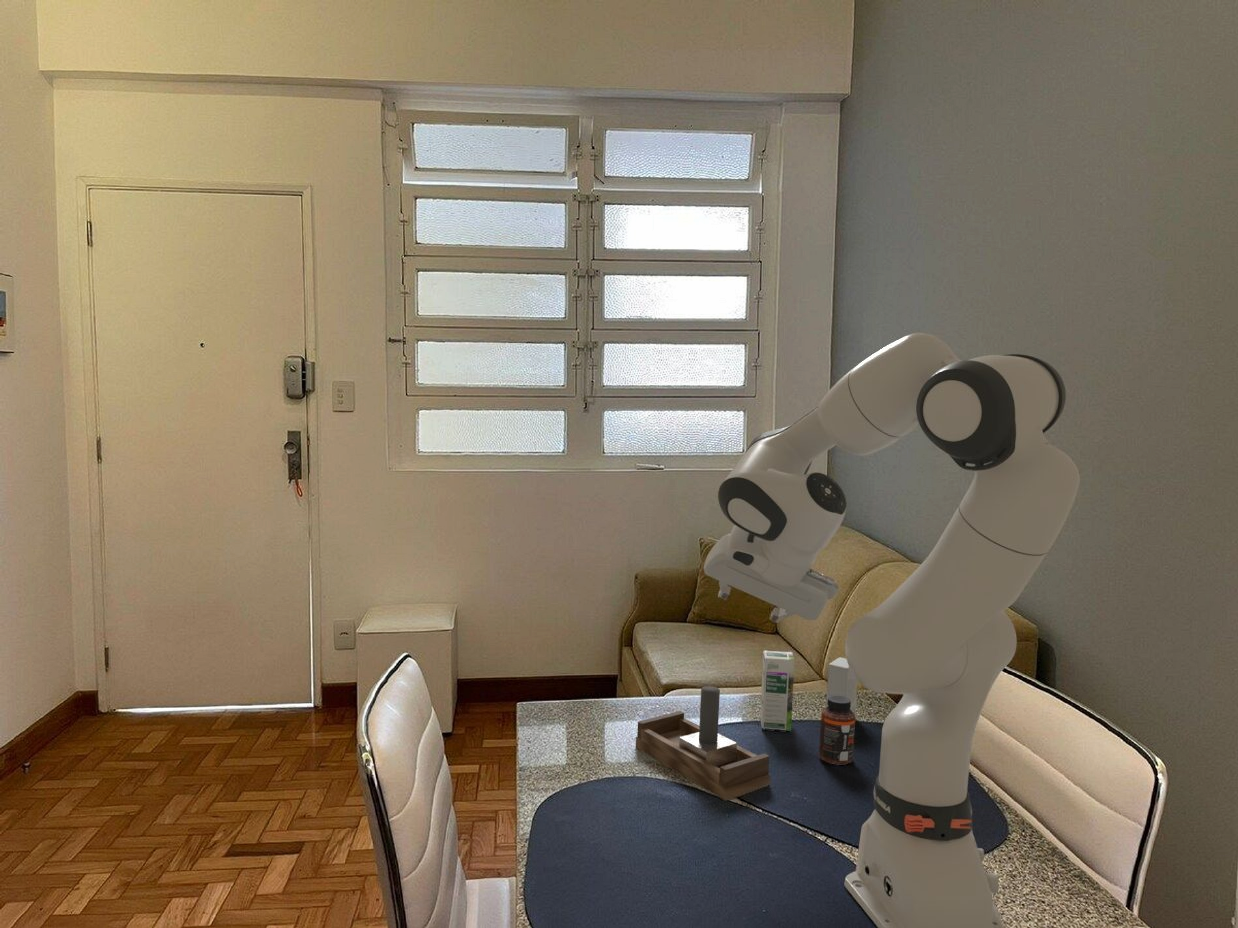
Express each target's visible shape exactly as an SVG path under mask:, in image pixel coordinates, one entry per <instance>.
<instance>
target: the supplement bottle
mask: <svg viewBox="0 0 1238 928" xmlns="http://www.w3.org/2000/svg"><path fill="white" fill-rule="evenodd" d="M827 704H828V707H823V709H821V716H820V726H819V727H820V729H819V730H820V731H819V747H818V757H819V756H820V757H819V759H820V760H821V759H822V761H823V760H824V761H826V762H829V763H835V764H841V765H843V764H847V763H850V764H851V763H852V761H853V759H854V758H853V757H854V743H855V742H854V741H855V731H856V730H855V729H856V716H855V714H854V712H853V711H851V709H850V707H851V700H850V699H849V698H847V697H844V696H837V695H834V696H829V697H828V703H827ZM824 761H823V762H824ZM826 762H825V763H826ZM829 763H828V764H829Z"/></svg>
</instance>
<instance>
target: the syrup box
mask: <svg viewBox="0 0 1238 928" xmlns="http://www.w3.org/2000/svg"><path fill="white" fill-rule="evenodd" d="M794 676H795V658H794V654H793V651H775V650H772V651H771V650H763V652H762V672H761V692H760V693H761V694H760V695H761V696H760V717H759V719H760V720H759V721H760V725H761V729H762V728H769V729H780V730H791V731H792V720H793V719H792V718H793V717H792V715H793V700H794V699H793V697H794V679H795V677H794Z"/></svg>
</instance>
